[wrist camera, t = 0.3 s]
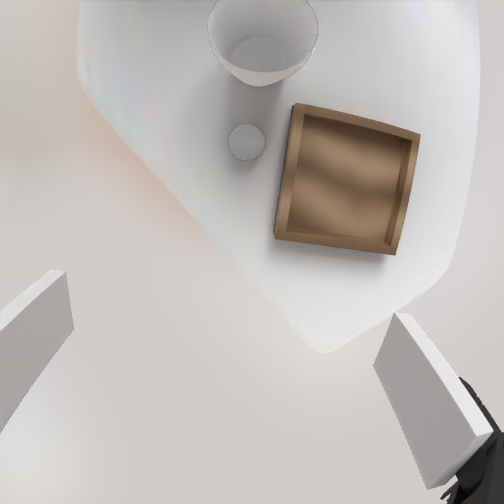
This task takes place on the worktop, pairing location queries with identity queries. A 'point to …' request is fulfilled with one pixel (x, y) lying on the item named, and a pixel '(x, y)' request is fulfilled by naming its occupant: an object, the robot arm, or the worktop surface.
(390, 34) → the worktop surface
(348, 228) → the tray
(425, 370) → the robot arm
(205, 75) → the worktop surface
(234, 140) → the ball
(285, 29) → the cup
